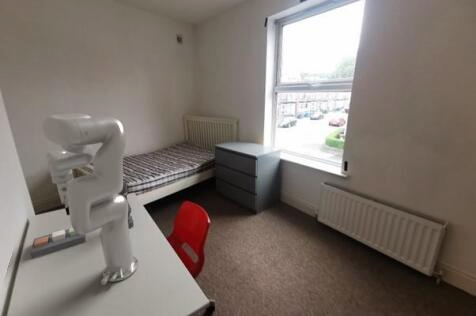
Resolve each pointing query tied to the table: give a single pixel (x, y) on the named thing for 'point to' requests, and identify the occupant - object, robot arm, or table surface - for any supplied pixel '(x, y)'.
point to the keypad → (56, 244)
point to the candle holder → (124, 193)
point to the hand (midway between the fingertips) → (71, 213)
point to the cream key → (58, 235)
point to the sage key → (72, 232)
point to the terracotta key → (41, 241)
